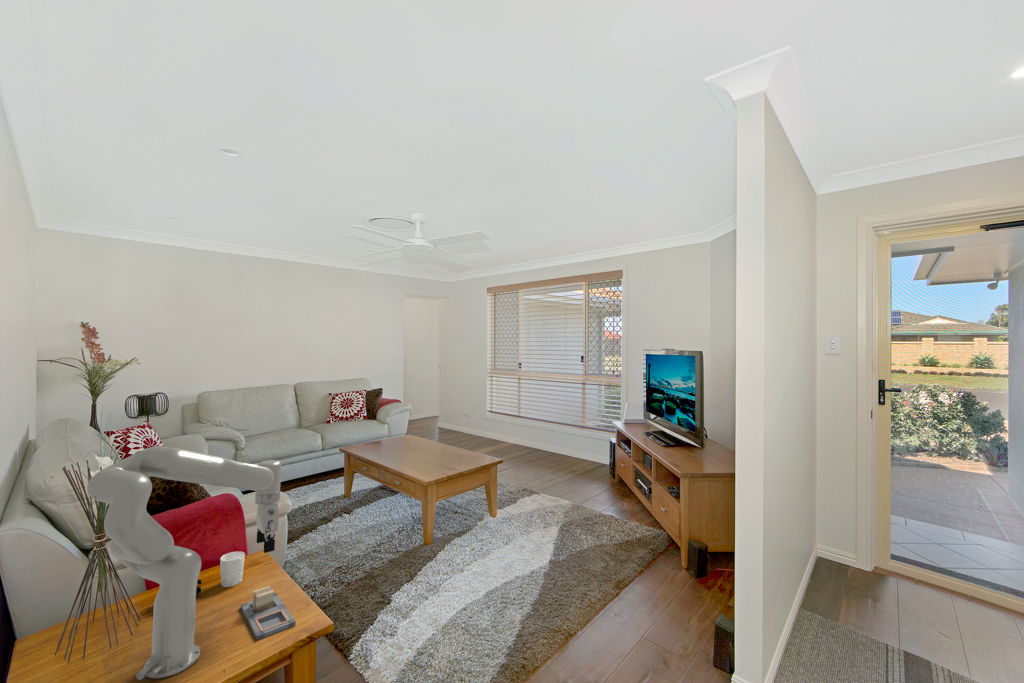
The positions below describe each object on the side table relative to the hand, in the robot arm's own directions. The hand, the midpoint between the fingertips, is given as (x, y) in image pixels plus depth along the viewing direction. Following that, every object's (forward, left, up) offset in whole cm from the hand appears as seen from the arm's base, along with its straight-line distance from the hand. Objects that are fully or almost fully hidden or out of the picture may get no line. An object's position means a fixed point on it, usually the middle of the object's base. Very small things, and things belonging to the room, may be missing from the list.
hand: (265, 546), depth 150 cm
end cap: (+3, +31, -21) cm, 38 cm away
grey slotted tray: (-5, -5, -21) cm, 22 cm away
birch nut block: (-1, -1, -21) cm, 21 cm away
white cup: (+15, +21, -21) cm, 33 cm away
